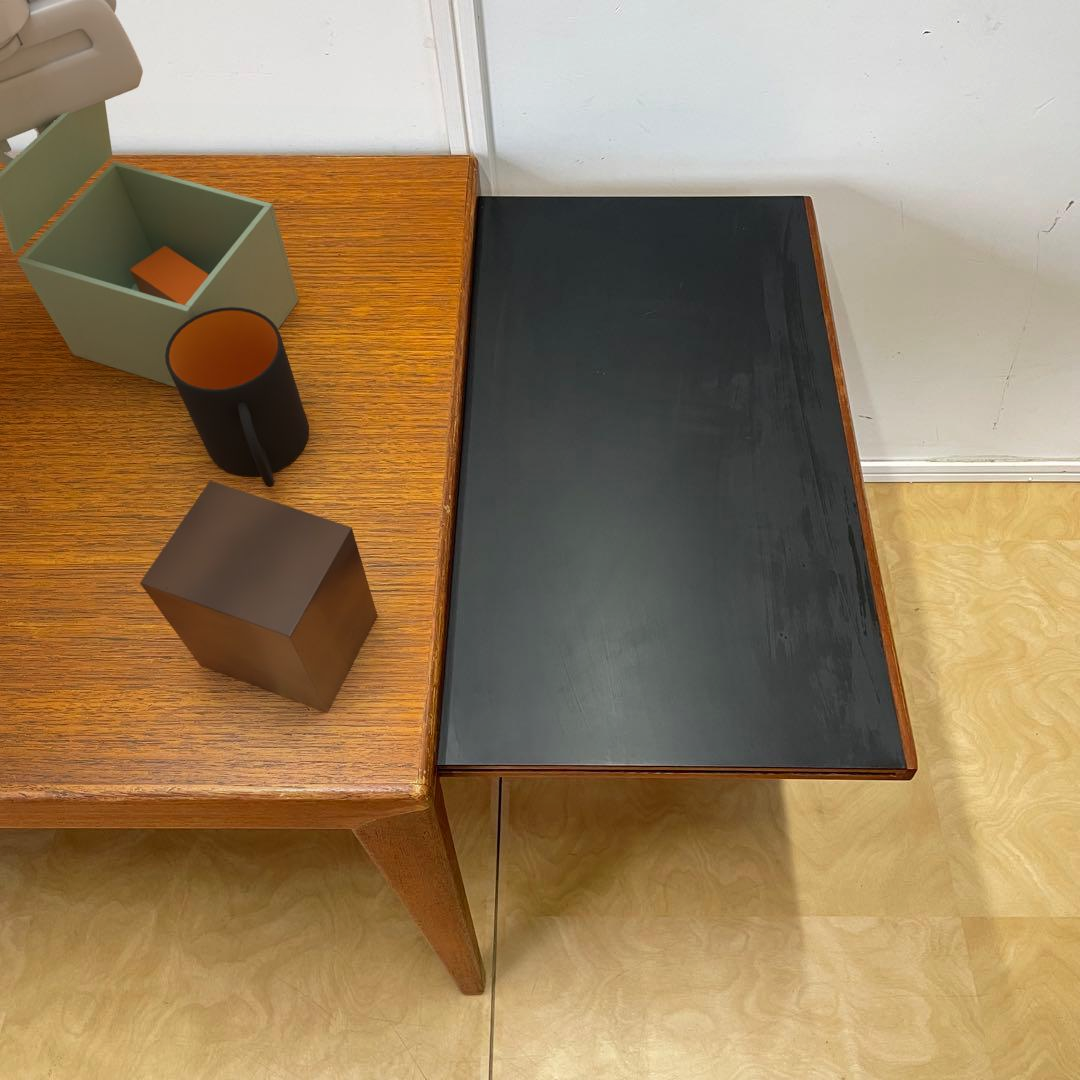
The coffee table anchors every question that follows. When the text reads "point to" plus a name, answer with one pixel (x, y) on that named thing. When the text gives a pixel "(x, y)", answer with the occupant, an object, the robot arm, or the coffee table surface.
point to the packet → (168, 276)
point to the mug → (239, 391)
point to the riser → (265, 594)
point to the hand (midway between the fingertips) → (42, 177)
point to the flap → (52, 171)
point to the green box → (133, 235)
